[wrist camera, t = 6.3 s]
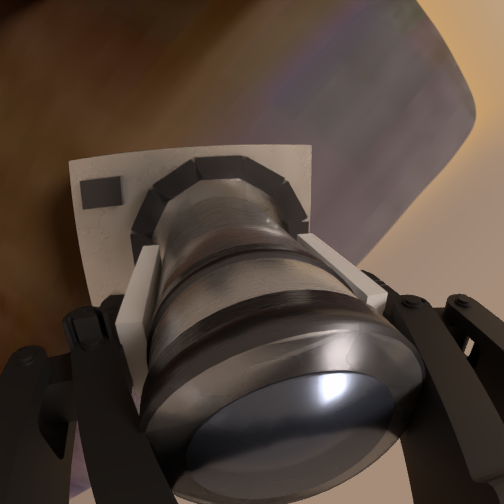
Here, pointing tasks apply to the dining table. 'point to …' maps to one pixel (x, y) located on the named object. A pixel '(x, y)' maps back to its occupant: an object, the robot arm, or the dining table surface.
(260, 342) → the lens
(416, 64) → the dining table surface
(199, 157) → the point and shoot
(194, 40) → the dining table surface
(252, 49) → the dining table surface
